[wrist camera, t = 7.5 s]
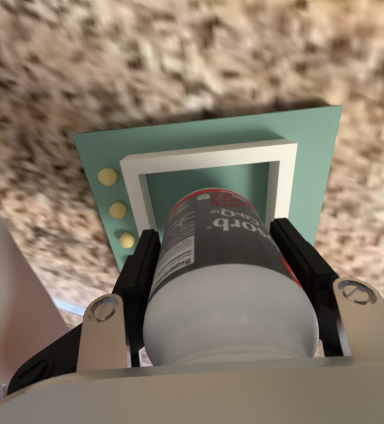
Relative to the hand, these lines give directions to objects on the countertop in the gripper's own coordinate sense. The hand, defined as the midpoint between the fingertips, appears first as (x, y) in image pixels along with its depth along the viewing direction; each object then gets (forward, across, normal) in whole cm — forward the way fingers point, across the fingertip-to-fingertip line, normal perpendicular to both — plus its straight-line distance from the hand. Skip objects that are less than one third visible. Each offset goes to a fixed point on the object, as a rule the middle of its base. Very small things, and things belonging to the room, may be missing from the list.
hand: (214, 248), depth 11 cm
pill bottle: (+3, 0, 0) cm, 3 cm away
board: (+5, 0, 0) cm, 5 cm away
